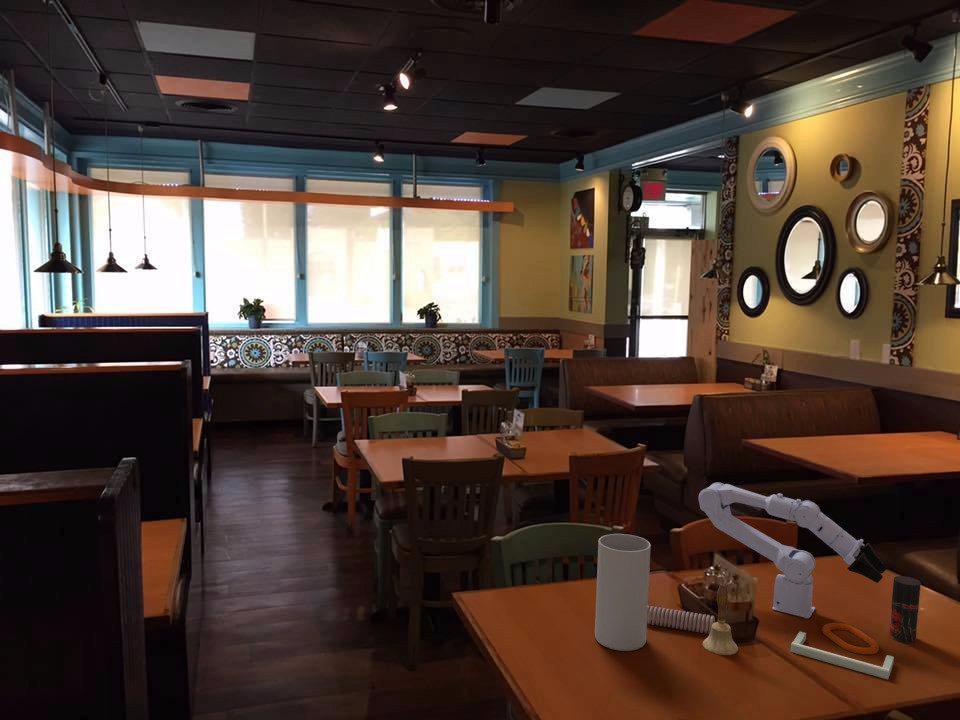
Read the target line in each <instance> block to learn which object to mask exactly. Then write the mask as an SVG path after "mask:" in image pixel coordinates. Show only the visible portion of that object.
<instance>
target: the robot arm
mask: <svg viewBox="0 0 960 720" xmlns="http://www.w3.org/2000/svg"><path fill="white" fill-rule="evenodd" d="M698 503H699V507H700V510H701V511H703V512H704V513H705V515H706V516H707V517H708V518H709V520H710V521H711V523H712V524H713V526H714V527H715V528H717V529H718V530H720V531H721V532H723V533H725V534H727V535H728V536H729V537H732V538H733V539H735V540H736V541H738V542H740V543H742V544H743V545H745V546H747V547H748V548H749V549H752V550H753V551H755V552H756V553H759V554H760V555H761V556H763V557H764V558H766V559H768V560H770V561H772V562H773V563H774V564H775V567H776V569H777V570H779V571H780V572H782V574H779V573H778V574H777V575H776V577H775V582H774V588H773V601H772V602H773V603H772V605H773V606H772V610H774V611H777V612H780V613H785V614H790V615H793V616H797V617H800V618H804V619H810V618H811V616H812V614H813V613H814V612H815V610H816V607H815V606H812V601H813V592H814V591H813V589H814V578H813V576H812V573H811V572H813V571H814V569H815V567H816V559H815V557H814V556H813V554H811V552H808V551H806V550H801V549H797V548H795V547H793V546H790V545H789V546H788V545H784V544H781V543H780V542H779V541H778V540H777V541H776V540H775V539H773V538H772V537H770V536H768V535H767V534H765V533H763V532H761V531H760V530H758V529H756V528H754V527H752V526H751V525H749V524H747V523H746V522H745V521H742V520H741V519H739V518H736V517H735V516H734V515H733V514H732V512H731V507H730V505H731V504H733V503H738V504H744V505H747V506H752V507H756V508H760V509H764V510H765V511H766V512H767V513H768V515H771V516H774V517H777V518H781V519H784V520H788V521H791V522H794V521H795V522H796V525H797V526H798V527H801V528H805V529H808V530H809V531H811V532H812V533H813V534H814V535H815V537H817V538H819V539H820V540H821V541H822V542H824V544H826V545H827V546H828V547H830V548H831V549H833V551H834V552H836V553H837V554H838V555H839V556H840V557H842V558H843V562H844V563H846V564H847V565H848V567H847V570H848V571H849V572H852V573H855V574H859V575H861V576H864V577H865V578H867V579H869V580H871V581H873V582H875V584H878V583H879V582H880V581H881V580H882V579H883V578H884V576H883V575H882V574H883V573H885V571H887V569H888V567H887V565H886V564H885V563H884V562H883V561H882V559H881V558H880V557H879V556H878V555H877V553H876V552H875V550H874V549H873V546H872V545H871V543H869V542H867V543H866V544H864V539H863V538H860V539H858V540H857V539H856V538H854V537H853V535H851V534H850V533H848V532H847V531H846V530H844V529H843V528H842V527H841V526H839V525H838V524H837V523H836V522H835V521H834V520H833V519H831V518H829V517H828V516H827V515H826V514H824V513H823V512H822V511H821V509H820V506H819V505H817V504H816V503H815V502H813V501H811V500H810V499H807V500H801V499H800V498H797V499H793V498H789V497H786V496H784V495H783V493H777V494H774V493H773V494H771V495H769V496H765V495H763V494H759V493H756V492H753V491H749V490H746V489H744V488H741V487H737V486H734V485H732V484H729V483H725V484H724V483H723V482H713V483H711V485H710V486H707V487H706V488H704V489H702V490H700V492H699V494H698Z"/></svg>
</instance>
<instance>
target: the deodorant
mask: <svg viewBox="0 0 960 720" xmlns="http://www.w3.org/2000/svg"><path fill="white" fill-rule="evenodd" d="M921 583H922V582H921V581H920V580H919V579H916V578H914V577H910V576H906V575H905V576H904V575H897V576H894V577H893V584H892V594H891V608H890V609H891V610H890V620H889V621H890V622H889V630H888V631H889V633H888V635H889V637H890V638H892V639H893V640H895V641H896V642H901V643H903V644H904V643H906V644H912V643H915V642H916V641H917V629H918V628H917V627H918V620H919V619H918V618H919V605H920V596H921Z"/></svg>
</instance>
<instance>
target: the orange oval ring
mask: <svg viewBox="0 0 960 720" xmlns="http://www.w3.org/2000/svg"><path fill="white" fill-rule="evenodd" d="M821 629H822V633H823V635H824V636H825V637H826V638H828V639H829V640H831V642H834V643H835V644H836V645H838V646H839V648H841V649H844V650H845V651H848V652H851V653H855V654H857V655H858V654H859V655H864V656H865V655H866V656H867V655H874V654H877V653H878V652H879V651H880V645H879V643H878V642H877V641H876V640H874V639H873V638H871V637H870V636H869V635H867V634H866V633H865V632H863V631H862V630H860V629H858V628H857V627H854V626H852V625H850V624H846V623H840V622H831V623H826V624H825V625H823V627H822V628H821ZM832 630H840V631H841V630H842V631H845V632H849V633H851V634H853V635H855V636H856V637H858V638H859V639H861V640H862V641H864V642H865V643H866V644H867V645H869V646H868V647H861V646H857V645H852V644H850V643H847V642H845V640H843V639H841V638H840V637H839V636H838V635H836V634H835V633H833V632H832Z"/></svg>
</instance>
